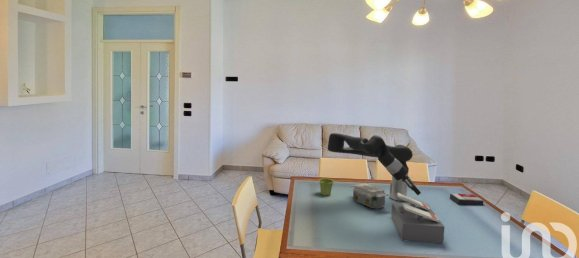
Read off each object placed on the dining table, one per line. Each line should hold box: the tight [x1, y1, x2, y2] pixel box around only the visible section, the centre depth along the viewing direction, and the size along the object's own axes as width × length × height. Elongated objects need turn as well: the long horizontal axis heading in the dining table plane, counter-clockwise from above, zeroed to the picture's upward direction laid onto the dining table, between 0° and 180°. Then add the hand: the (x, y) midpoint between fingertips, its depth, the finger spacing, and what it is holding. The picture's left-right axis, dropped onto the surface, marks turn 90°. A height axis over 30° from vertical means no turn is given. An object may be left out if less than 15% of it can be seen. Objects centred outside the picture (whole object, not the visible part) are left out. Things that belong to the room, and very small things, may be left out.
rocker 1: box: [397, 193, 431, 211], centre depth 174 cm, size 6×16×1 cm, turn 83°
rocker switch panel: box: [390, 201, 446, 244], centre depth 167 cm, size 28×18×10 cm, turn 173°
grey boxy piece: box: [349, 183, 390, 209], centre depth 201 cm, size 12×28×10 cm, turn 24°
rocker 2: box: [402, 202, 441, 222], centre depth 159 cm, size 6×16×1 cm, turn 83°
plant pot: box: [318, 178, 334, 196], centre depth 216 cm, size 9×9×9 cm
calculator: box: [449, 193, 484, 206], centre depth 208 cm, size 11×4×15 cm
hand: (419, 193), depth 173 cm, fingers closed
